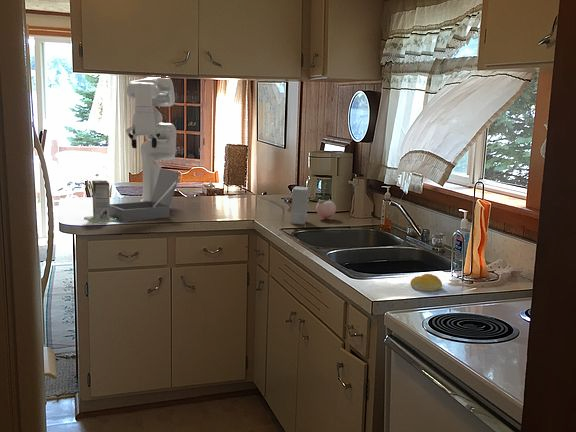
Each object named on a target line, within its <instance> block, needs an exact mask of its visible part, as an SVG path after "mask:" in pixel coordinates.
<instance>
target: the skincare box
mask: <svg viewBox="0 0 576 432" xmlns="http://www.w3.org/2000/svg"><path fill="white" fill-rule="evenodd" d="M309 190H310V189H309V187H308V186H300V185H299V186H297V185H295V186H294V187H293V188H292V193H291V194H292V197H291V208H290V209H291V210H290V211H291V212H290V224H291V225H292V224H294V225H305V223H306V222H307V214H308V203H309V202H308V200H309Z"/></svg>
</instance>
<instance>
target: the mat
mask: <svg viewBox="0 0 576 432" xmlns="http://www.w3.org/2000/svg"><path fill="white" fill-rule="evenodd" d="M83 218H84V219H85V220H87V221H90V222H91V223H94V224H101V223H112V222H111V221H113V222H118V221H119V220H118V219H115V218H113V217H110V220H95V218H94V217H93V215H92V216H84V217H83Z"/></svg>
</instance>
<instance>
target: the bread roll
mask: <svg viewBox="0 0 576 432" xmlns="http://www.w3.org/2000/svg"><path fill="white" fill-rule="evenodd" d="M409 285H410V286H411V288H412V289H413V290H415V291H420V292H428V293H429V292H431V293H432V292H436V291H440V290H442V287H443V283H442V281H441V279H440V278H439V277H438V276H436V275H434V274H431V273H424V274H422V275H421V276H420V275H418V276H414V277H413V278H412V279H411V280H410V283H409Z"/></svg>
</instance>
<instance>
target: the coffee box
mask: <svg viewBox="0 0 576 432" xmlns="http://www.w3.org/2000/svg"><path fill="white" fill-rule="evenodd" d="M91 185H92V186H91V187H92V216H93V217H94V218H95V220H110V204H111V203H110V202H111V201H110V198H111V197H110V194H111V193H110V182H109V181H108V180H91Z"/></svg>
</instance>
